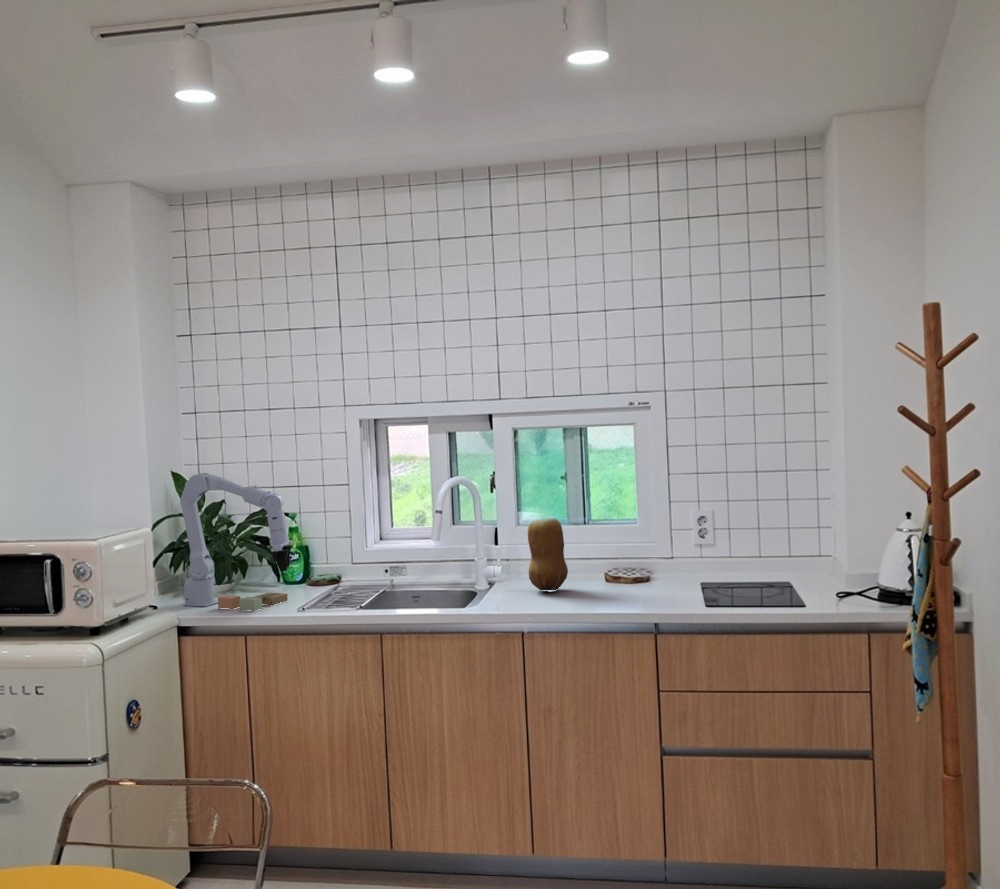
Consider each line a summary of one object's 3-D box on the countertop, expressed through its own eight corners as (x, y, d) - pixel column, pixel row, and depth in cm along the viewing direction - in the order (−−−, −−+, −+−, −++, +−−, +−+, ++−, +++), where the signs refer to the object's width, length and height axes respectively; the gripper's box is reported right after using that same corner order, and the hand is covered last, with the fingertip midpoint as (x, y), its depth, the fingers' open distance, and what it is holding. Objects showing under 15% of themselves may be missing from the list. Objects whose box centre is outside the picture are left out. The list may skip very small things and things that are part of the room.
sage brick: (239, 611, 309) (239, 599, 309) (248, 608, 313) (247, 596, 313) (254, 612, 307) (253, 600, 306) (262, 609, 310) (262, 597, 310)
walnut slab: (253, 605, 319) (252, 596, 319) (268, 601, 326) (268, 592, 326) (272, 607, 315) (271, 598, 315) (287, 602, 323) (287, 593, 322)
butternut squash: (529, 588, 330) (526, 516, 329) (568, 587, 329) (565, 515, 328) (528, 596, 316) (526, 521, 315) (569, 595, 315) (567, 520, 315)
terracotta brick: (218, 609, 313) (217, 597, 313) (226, 607, 317) (226, 595, 317) (232, 610, 310) (232, 598, 310) (240, 608, 314) (240, 596, 314)
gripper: (287, 530, 316) (294, 570, 317) (292, 525, 330) (299, 563, 331) (266, 533, 315) (273, 574, 316) (272, 528, 330) (278, 567, 330)
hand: (284, 569), depth 323 cm, fingers open, 7 cm apart
